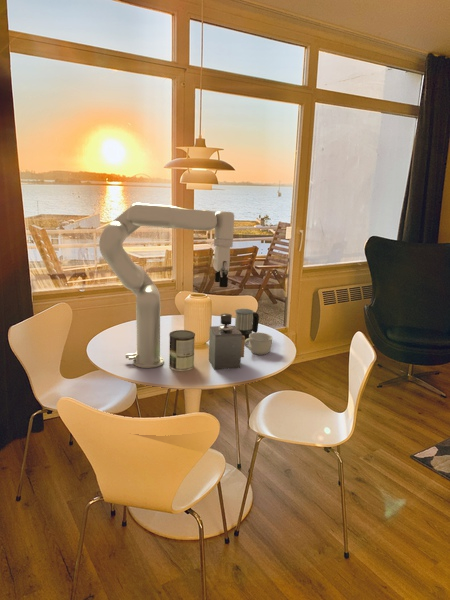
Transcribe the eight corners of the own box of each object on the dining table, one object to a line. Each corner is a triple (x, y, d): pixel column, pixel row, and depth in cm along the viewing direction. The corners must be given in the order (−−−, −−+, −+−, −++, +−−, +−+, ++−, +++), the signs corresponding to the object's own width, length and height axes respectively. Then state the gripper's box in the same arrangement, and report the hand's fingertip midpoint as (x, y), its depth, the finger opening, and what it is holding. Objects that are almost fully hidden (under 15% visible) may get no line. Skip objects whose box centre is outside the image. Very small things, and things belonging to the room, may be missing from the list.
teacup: (265, 347, 204) (266, 331, 202) (275, 355, 194) (277, 338, 192) (237, 350, 199) (238, 333, 197) (247, 358, 189) (248, 341, 187)
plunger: (217, 360, 176) (219, 317, 172) (213, 353, 184) (214, 312, 180) (236, 359, 178) (238, 317, 174) (231, 353, 186) (233, 312, 181)
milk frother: (246, 344, 208) (248, 314, 204) (218, 337, 216) (220, 308, 212) (260, 336, 219) (261, 308, 216) (233, 330, 227) (234, 303, 224)
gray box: (214, 369, 175) (215, 334, 172) (208, 359, 186) (209, 326, 182) (246, 367, 179) (248, 333, 175) (239, 358, 189) (240, 325, 185)
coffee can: (164, 368, 174) (164, 335, 171) (176, 360, 184) (176, 328, 180) (187, 373, 171) (188, 339, 168) (198, 364, 180) (199, 332, 177)
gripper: (210, 240, 181) (208, 280, 185) (218, 245, 164) (215, 289, 168) (227, 240, 182) (225, 280, 186) (237, 245, 166) (234, 289, 170)
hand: (220, 284), depth 177 cm, fingers open, 9 cm apart
